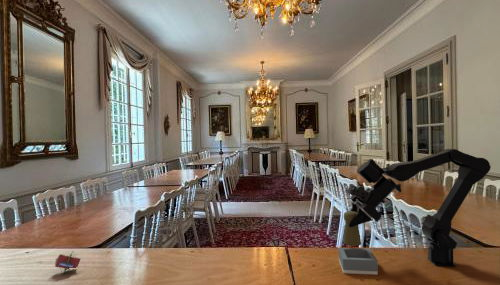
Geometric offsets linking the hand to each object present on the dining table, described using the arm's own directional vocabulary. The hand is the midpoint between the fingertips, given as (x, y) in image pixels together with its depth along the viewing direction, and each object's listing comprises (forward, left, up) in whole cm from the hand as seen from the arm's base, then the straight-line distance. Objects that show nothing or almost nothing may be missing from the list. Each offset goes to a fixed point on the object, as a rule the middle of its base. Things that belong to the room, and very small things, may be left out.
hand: (347, 224), depth 107 cm
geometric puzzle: (+96, +18, -13) cm, 98 cm away
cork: (-1, 0, -7) cm, 7 cm away
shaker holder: (-2, +4, -13) cm, 14 cm away
